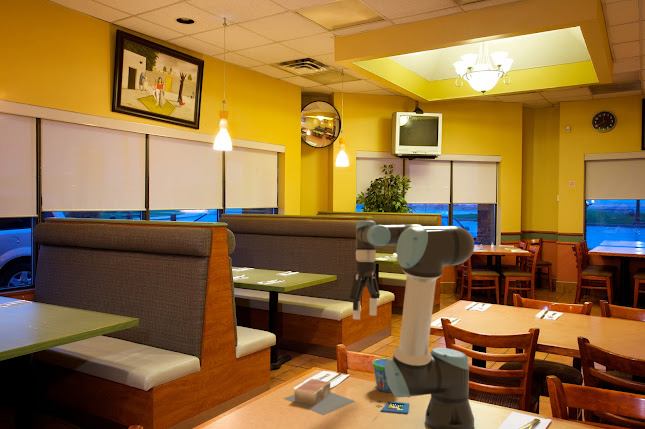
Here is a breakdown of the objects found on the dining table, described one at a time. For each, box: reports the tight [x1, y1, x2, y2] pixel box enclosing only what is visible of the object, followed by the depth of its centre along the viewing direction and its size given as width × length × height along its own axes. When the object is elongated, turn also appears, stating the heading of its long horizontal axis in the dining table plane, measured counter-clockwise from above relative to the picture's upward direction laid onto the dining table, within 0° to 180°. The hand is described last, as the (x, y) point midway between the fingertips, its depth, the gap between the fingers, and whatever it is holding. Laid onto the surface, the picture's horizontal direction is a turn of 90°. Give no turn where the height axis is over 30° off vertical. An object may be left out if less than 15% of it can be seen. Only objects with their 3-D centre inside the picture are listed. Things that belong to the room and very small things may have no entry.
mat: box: [283, 391, 356, 416], centre depth 179 cm, size 20×16×1 cm
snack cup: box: [372, 358, 392, 393], centre depth 190 cm, size 16×10×10 cm
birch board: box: [294, 378, 331, 405], centre depth 182 cm, size 4×8×12 cm
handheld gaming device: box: [370, 400, 410, 415], centre depth 174 cm, size 8×1×15 cm
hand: (365, 317), depth 192 cm, fingers open, 13 cm apart
